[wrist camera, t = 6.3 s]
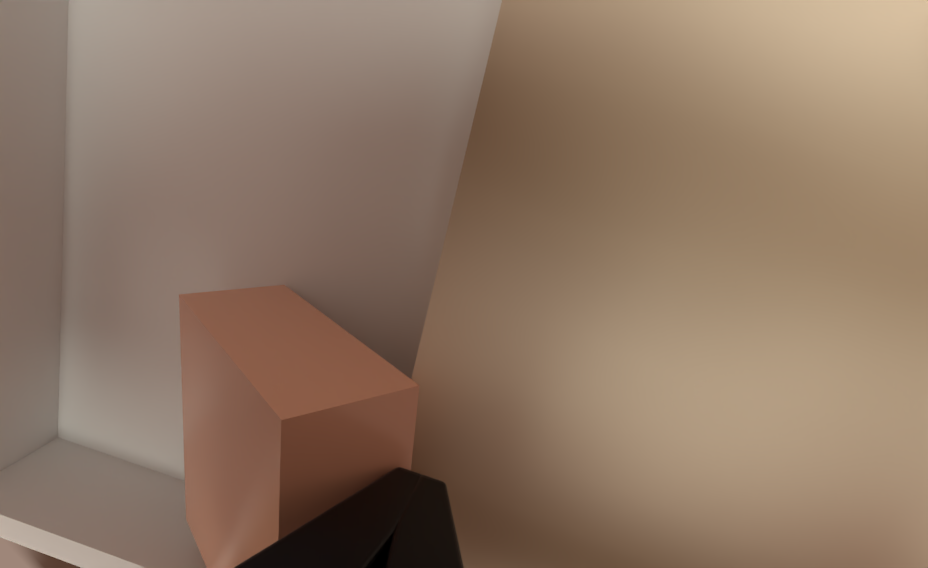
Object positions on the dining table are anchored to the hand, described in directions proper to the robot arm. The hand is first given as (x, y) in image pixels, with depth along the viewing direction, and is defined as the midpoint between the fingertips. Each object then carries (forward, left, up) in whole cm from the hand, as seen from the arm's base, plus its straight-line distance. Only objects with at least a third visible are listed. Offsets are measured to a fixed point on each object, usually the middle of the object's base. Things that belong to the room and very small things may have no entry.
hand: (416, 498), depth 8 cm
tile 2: (-1, +2, -2) cm, 3 cm away
